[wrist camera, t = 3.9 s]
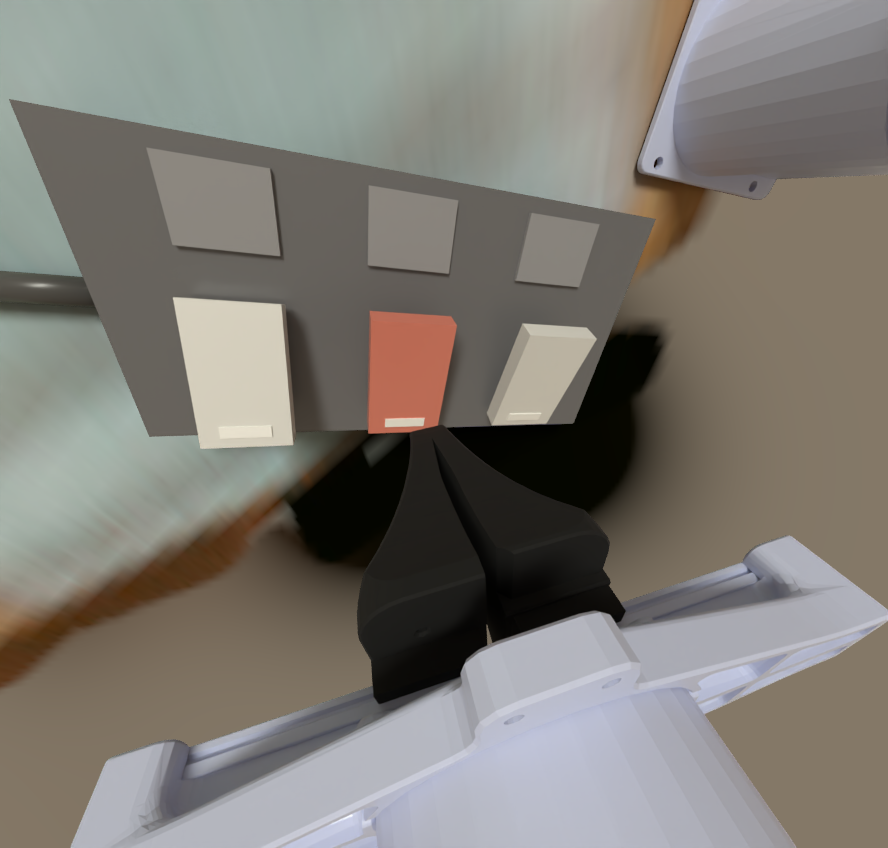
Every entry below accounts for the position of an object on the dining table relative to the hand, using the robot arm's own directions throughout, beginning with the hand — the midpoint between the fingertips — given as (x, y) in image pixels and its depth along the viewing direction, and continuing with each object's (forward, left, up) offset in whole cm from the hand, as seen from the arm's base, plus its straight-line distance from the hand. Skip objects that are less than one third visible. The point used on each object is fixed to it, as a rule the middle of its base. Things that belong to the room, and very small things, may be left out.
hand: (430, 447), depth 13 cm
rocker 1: (+7, -1, -5) cm, 9 cm away
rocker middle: (0, -1, -5) cm, 6 cm away
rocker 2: (-7, -1, -5) cm, 9 cm away
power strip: (+3, -3, -9) cm, 10 cm away
